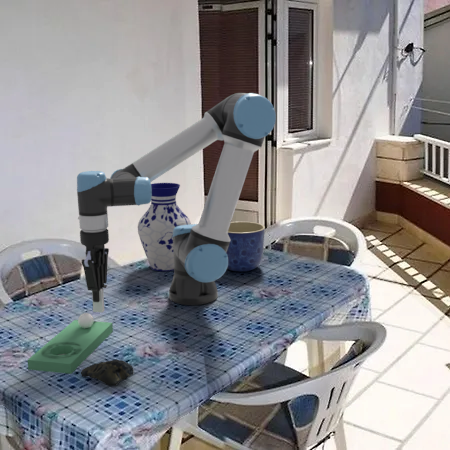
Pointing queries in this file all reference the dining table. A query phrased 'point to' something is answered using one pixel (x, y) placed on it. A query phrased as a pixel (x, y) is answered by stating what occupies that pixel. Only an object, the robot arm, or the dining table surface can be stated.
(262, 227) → the planter
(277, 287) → the dining table surface
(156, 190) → the vase
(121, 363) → the stone
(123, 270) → the dining table surface
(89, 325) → the ball
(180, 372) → the dining table surface
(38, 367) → the green rectangular board
